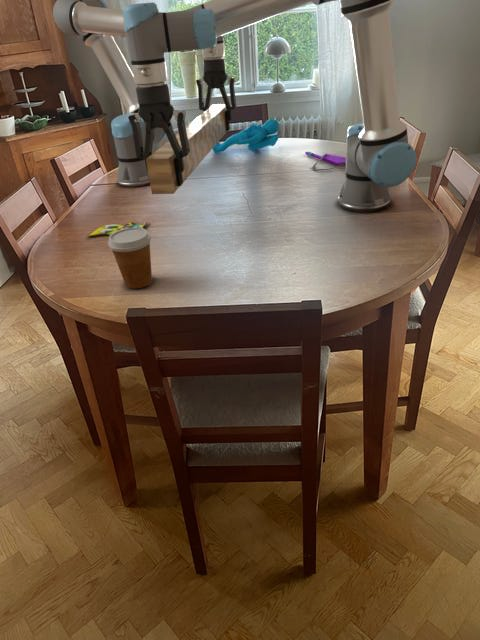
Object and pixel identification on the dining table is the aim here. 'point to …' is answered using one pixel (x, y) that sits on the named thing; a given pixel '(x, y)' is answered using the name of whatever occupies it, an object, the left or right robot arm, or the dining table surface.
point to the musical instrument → (328, 159)
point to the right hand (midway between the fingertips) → (168, 184)
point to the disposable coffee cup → (132, 255)
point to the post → (201, 142)
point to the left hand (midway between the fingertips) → (219, 130)
